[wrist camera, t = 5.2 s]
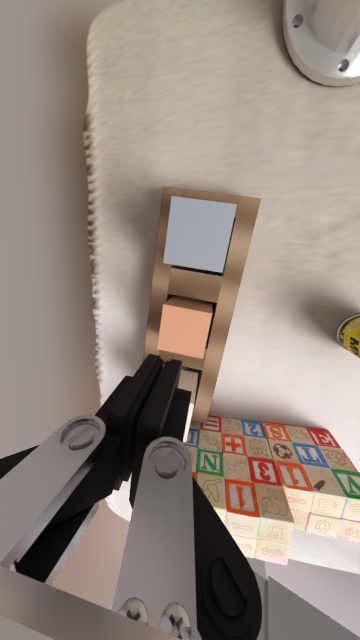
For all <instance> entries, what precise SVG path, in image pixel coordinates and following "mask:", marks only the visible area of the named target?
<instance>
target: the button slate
mask: <svg viewBox="0 0 360 640" xmlns="http://www.w3.org/2000/svg"><path fill="white" fill-rule="evenodd" d="M236 207H237V204H230V203H222V202H215V201H207V200H199V199H191V198H183V197H175V196H172V198H171V206H170V214H169V221H168V229H167V237H166V245H165V253H164V261H163V263H167V264H173V265H179V266H185V267H191V268H197V269H203V270H209V271H215V272H221V273H223V268H224V263H225V259H226V254H227V249H228V245H229V240H230V235H231V231H232V226H233V221H234V217H235V212H236Z"/></svg>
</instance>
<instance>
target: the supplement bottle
mask: <svg viewBox="0 0 360 640" xmlns="http://www.w3.org/2000/svg"><path fill="white" fill-rule="evenodd" d="M337 340H338V342H339V344H340V345H341V346H342V347H343V348H345V349H347V350H348V351H350V352H351V353H353V354H355V355H356V356H358V357H359V358H360V315H355V316H352V317H350V318H348V319H346V320H345V321H344V322H343V323H342V324H341V325H340V326H339V328H338V330H337Z"/></svg>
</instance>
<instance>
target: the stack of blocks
mask: <svg viewBox="0 0 360 640" xmlns="http://www.w3.org/2000/svg"><path fill="white" fill-rule="evenodd" d="M183 444H184V445H185V446H186V447H187V448H188V450H189V452H190V454H191V460H192V475H193V477H194V478H195V480H196V481H197V483H198V485H199V486H200V488H201V489H202V491H203V492H204V494H205V495H206V497H207V498H208V500H209V502H210V503H211V505H212V506H213V508H214V509H215V511H216V512H217V514H218V515H219V517H220V519H221V520H222V522H223V523H224V525H225V526H226V528H227V529H228V531H229V532H230V534H231V536H232V537H233V539H234V540H235V542H236V543H237V545H238V546H239V548H240V550H241V551H242V553H243V554H244V556H245V557H248V558H254V557H255V558H256V559H259V560H263V561H268V562H273V563H278V564H282V565H287V562H288V557H289V551H290V546H291V544H290V542H291V537H292V532H293V529H294V530H299V531H305V532H307V533H312V534H318V535H323V536H327V537H332V538H335V537H337V538H340V539H345V540H350V541H354V542H360V473H359V472H358V471H357V469H356V468H355V466H354V465H353V463H352V462H351V461H350V459H349V458H348V456H347V455H346V454H345V452H344V451H343V449H341V447H340V446H339V444H338V443H337V442H336V440H335V439H334V437H333V436H332V434H331V433H330V432H329V431H328V430H319V429H310V428H305V427H299V426H291V425H282V424H274V423H267V422H255V421H247V420H238V419H229V418H221V417H216V416H208V418H207V422H206V424H205V423H201V422H197V421H193V420H191V422H190V427H189V431H188V436H187V441H186V442H183Z"/></svg>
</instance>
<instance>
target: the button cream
mask: <svg viewBox="0 0 360 640" xmlns="http://www.w3.org/2000/svg"><path fill="white" fill-rule="evenodd" d="M163 367H164V365H163ZM197 379H198V373H195V372H191V371H187V370H182V369H181V373H180V379H179V384H178V388H180V389H184V390H188V391H192V394H191V399H190V405H189V411H188V416H187V422H186V427H185V433H184V438H183V442H186V441H187V436H188V431H189V427H190V422H191V417H192V413H193V408H194V403H195V395H196V387H197Z"/></svg>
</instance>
